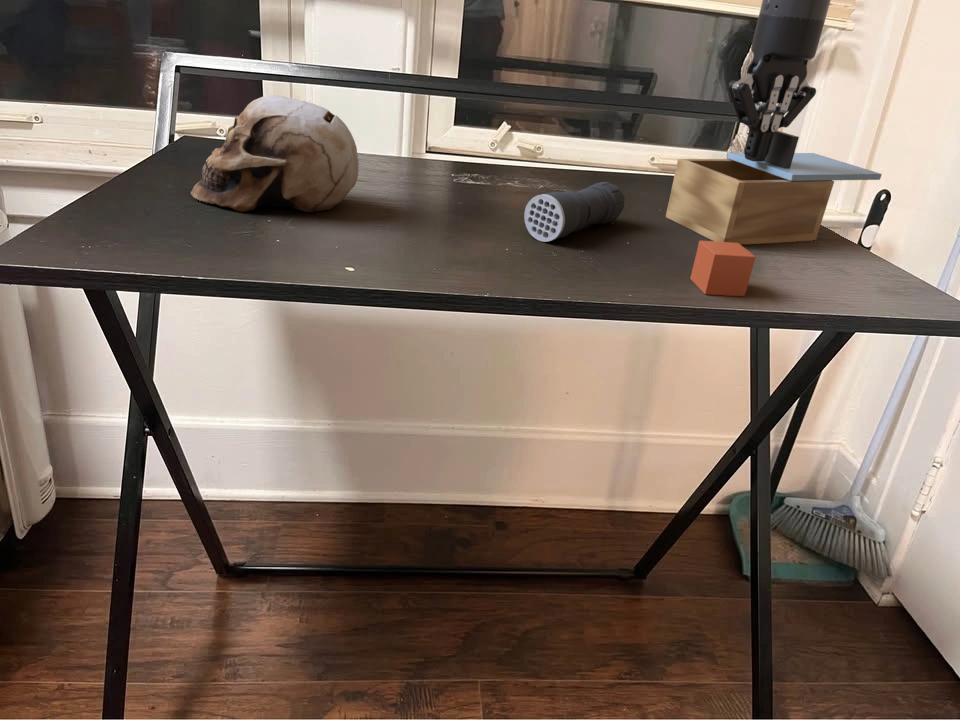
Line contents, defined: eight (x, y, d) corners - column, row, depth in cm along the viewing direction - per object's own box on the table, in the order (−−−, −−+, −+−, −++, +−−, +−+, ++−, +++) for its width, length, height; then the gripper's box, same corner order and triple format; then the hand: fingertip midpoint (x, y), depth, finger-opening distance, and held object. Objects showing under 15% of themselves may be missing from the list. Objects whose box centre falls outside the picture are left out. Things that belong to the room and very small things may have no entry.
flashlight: (589, 215, 100) (596, 174, 98) (624, 225, 97) (632, 184, 95) (521, 234, 89) (527, 189, 87) (558, 247, 86) (565, 201, 84)
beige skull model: (182, 188, 92) (187, 75, 86) (312, 193, 102) (324, 92, 96) (227, 231, 81) (235, 105, 75) (367, 232, 91) (383, 120, 86)
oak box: (815, 240, 100) (834, 181, 96) (722, 245, 93) (739, 182, 90) (753, 214, 109) (768, 159, 106) (665, 217, 103) (677, 158, 99)
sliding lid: (880, 179, 99) (892, 143, 97) (790, 181, 93) (802, 141, 91) (812, 158, 109) (822, 124, 107) (727, 158, 103) (735, 122, 100)
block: (728, 281, 82) (738, 242, 80) (744, 296, 78) (755, 256, 76) (689, 278, 81) (699, 240, 79) (704, 294, 77) (714, 254, 75)
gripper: (773, 11, 83) (734, 167, 91) (856, 21, 89) (813, 167, 96) (728, 6, 89) (695, 153, 97) (809, 15, 95) (771, 153, 102)
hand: (754, 160), depth 97 cm, fingers closed
